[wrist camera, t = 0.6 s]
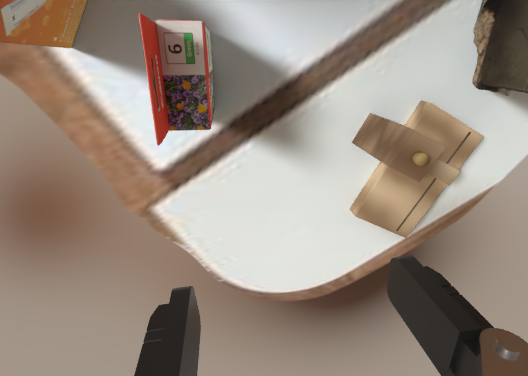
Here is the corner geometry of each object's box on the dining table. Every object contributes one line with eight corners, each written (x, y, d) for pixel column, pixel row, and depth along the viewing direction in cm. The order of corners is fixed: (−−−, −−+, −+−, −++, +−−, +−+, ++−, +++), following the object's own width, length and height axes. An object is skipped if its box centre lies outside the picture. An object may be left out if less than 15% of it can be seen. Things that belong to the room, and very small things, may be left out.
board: (420, 100, 35) (432, 103, 34) (471, 132, 38) (484, 136, 36) (349, 209, 40) (355, 216, 38) (398, 230, 43) (406, 238, 41)
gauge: (370, 113, 35) (420, 131, 26) (440, 153, 39) (506, 181, 30) (351, 142, 36) (394, 169, 28) (422, 178, 40) (479, 213, 31)
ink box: (210, 30, 30) (202, 8, 16) (215, 111, 33) (211, 147, 20) (173, 29, 29) (133, 7, 16) (181, 111, 32) (154, 149, 19)
